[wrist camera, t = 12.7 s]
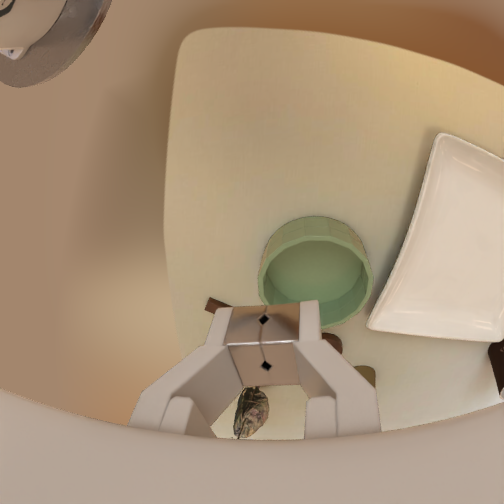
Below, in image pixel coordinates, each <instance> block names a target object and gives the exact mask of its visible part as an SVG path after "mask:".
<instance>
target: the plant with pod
mask: <svg viewBox="0 0 504 504" xmlns="http://www.w3.org/2000/svg"><path fill="white" fill-rule="evenodd" d="M259 387H260V386H247V387H246V388H245V389H244V390H243V391H242V393H241V395H240V397H239V400H238V405H237V406H238V407H237V410H236V412H237V413H235V420H234V426H233V428H234V434H235V435H236V436H237V437H238V438H237V439H239V438H247V437H249V436H251V435H252V434H254V433H255V432H256V431H257V430H258V429H259V428H260V427H261V426H263V424H264V423H265V422H266V420H267V418H268V414H269V404H268V398H267V397H266V395H265V394H264V393H263V392H261V391H259ZM231 438H233V437H231Z"/></svg>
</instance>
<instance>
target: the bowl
mask: <svg viewBox="0 0 504 504" xmlns="http://www.w3.org/2000/svg"><path fill="white" fill-rule="evenodd" d="M372 284H373V274H372V271H371V268H370V265H369V262H368V259H367V256H366V253H365V250H364V247H363V244H362V241H361V240H360V239H359V237H358V236H357V235H356V233H355V232H354V231H353V230H352V229H350V228H349V227H348V226H346V225H345V224H343V223H341V222H339V221H337V220H334V219H331V218H327V217H318V216H313V217H304V218H300V219H297V220H294V221H292V222H289V223H287V224H286V225H284V226H283V227H281V228H280V229H279V230H277V231H276V232H275V233H274V235H273V236H272V237H271V238H270V240H269V241H268V243H267V245H266V247H265V250H264V253H263V256H262V259H261V264H260V269H259V274H258V289H259V296H260V298H261V300H262V302H263V303H264V305H276V304H286V303H297V302H302V301H310V300H318V302H319V311H320V322H321V329H326V328H330V327H333V326H336V325H340V324H343V323H345V322H346V321H347V320H349V319H350V318H352V317H353V316H355V315H356V314H358V313H359V312H360V311H361V309H362V308H363V306H364V305H365V304H366V302H367V301H368V299H369V298H370V296H371V290H372Z"/></svg>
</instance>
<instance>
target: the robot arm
mask: <svg viewBox="0 0 504 504" xmlns="http://www.w3.org/2000/svg"><path fill="white" fill-rule="evenodd" d="M65 3H66V0H0V53H1V54H3V55H5V56H7V57H9V58H11V59H13V60H20V59H21V58H22V57H23V56H24V54H25V53H26V52H27V50H28V49H29V47H30V46H31V45H32V44H33V43H35V42H36V41H38V40H39V39H40V38H42V37H43V36H44V35H45V34H46V33H47V32H48V31H49V30H50V28H51V27H52V26H53V24H54V23H55V22H56V20H57V19H58V17H59V15H60V13H61V11H62V9H63V7H64V5H65ZM266 385H301V387H302V389H303V390H304V392H305V393H306V394H307V396H308V397H309V400H308V401H307V402H306V416H305V431H304V439H298V440H247V439H226V438H217V437H216V435H215V434H214V432H213V431H212V429H211V428H210V426H211V425H212V424H213V423H214V422H215V421H216V420H217V418H218V417H219V416H220V415H221V414H222V413H223V412H224V410H225V409H226V408H227V407H228V406H229V405H230V403H231V402H232V401H233V400H234V399H235V398H236V396H237V395H238V394H239V393H240V392H241V390H242V389H243V386H266ZM0 504H504V402H502V403H499V404H497V405H494V406H491V407H487V408H484V409H481V410H478V411H475V412H471V413H468V414H464V415H461V416H457V417H453V418H449V419H445V420H441V421H437V422H432V423H428V424H423V425H418V426H413V427H408V428H403V429H397V430H391V431H385V432H381V424H380V415H379V408H378V400H377V393H376V389H375V388H374V387H373V386H372V385H371V384H370V383H369V382H368V381H367V380H366V379H365V378H364V377H363V376H362V375H361V374H360V373H359V372H358V371H357V370H356V369H355V368H354V367H353V366H352V365H351V364H350V363H349V362H348V361H347V360H346V359H345V358H344V357H343V356H342V355H341V354H340V353H339V352H338V351H337V350H336V349H335V348H334V347H332V346H331V345H330V344H329V343H328V342H327V341H326V340H325V339H323V340H322V333H321V322H320V311H319V302H318V300H310V301H302V302H297V303H286V304H276V305H261V306H242V307H226V308H218V309H217V310H216V312H215V314H214V317H213V320H212V323H211V326H210V329H209V332H208V335H207V338H206V341H205V344H204V346H199V347H197V348H196V349H195V350H194V351H192V352H191V353H190V354H189V355H187V356H186V357H185V358H184V359H182V360H181V361H180V362H179V363H178V364H176V365H175V366H174V367H173V368H171V369H170V370H169V371H167V372H166V373H165V374H164V375H162V376H161V377H160V378H159V379H157V380H156V381H155V382H154V383H152V384H151V385H150V386H148V387H147V388H146V389H145V390H143V391H142V392H141V395H140V397H139V400H138V402H137V404H136V406H135V408H134V411H133V413H132V415H131V418H130V420H129V423H128V425H127V426H125V425H120V424H115V423H111V422H106V421H102V420H98V419H94V418H89V417H86V416H82V415H78V414H75V413H71V412H68V411H64V410H61V409H58V408H54V407H51V406H48V405H45V404H42V403H38V402H36V401H33V400H30V399H28V398H25V397H22V396H19V395H17V394H14V393H11V392H9V391H7V390H4V389H2V388H0Z"/></svg>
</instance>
